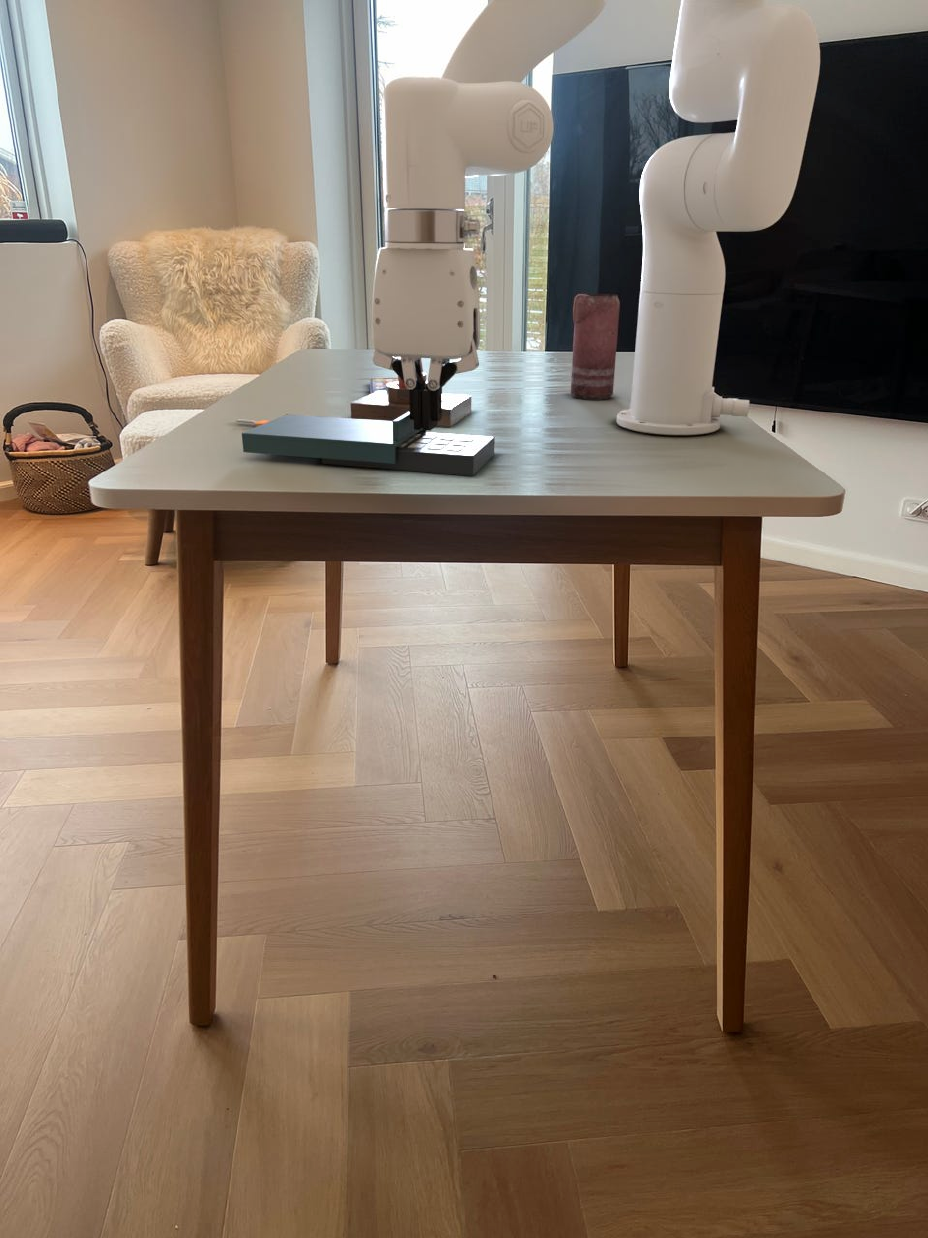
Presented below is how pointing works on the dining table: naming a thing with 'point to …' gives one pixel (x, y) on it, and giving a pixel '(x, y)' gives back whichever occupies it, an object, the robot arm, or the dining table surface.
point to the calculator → (435, 454)
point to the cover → (330, 437)
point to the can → (594, 345)
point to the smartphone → (380, 383)
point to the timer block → (406, 406)
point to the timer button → (402, 384)
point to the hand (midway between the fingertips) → (426, 427)
